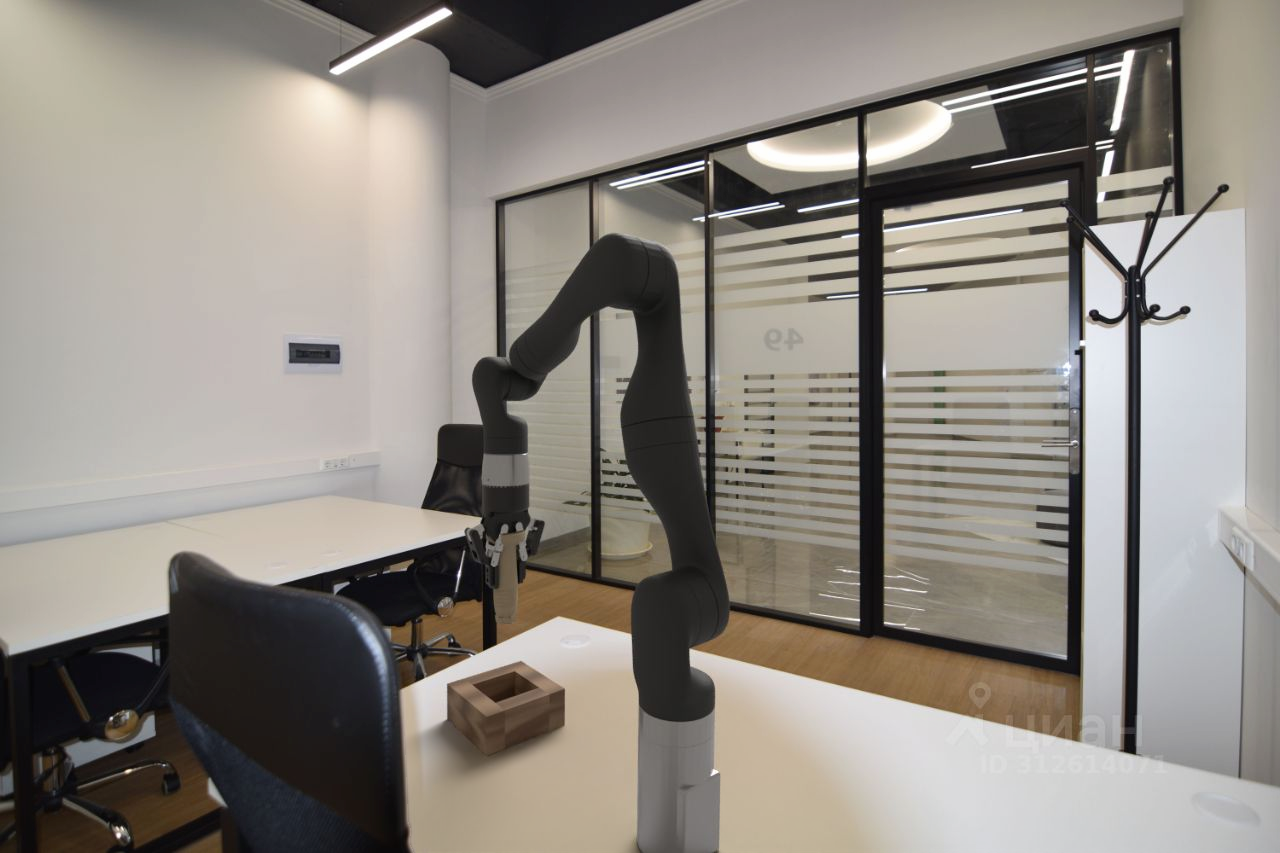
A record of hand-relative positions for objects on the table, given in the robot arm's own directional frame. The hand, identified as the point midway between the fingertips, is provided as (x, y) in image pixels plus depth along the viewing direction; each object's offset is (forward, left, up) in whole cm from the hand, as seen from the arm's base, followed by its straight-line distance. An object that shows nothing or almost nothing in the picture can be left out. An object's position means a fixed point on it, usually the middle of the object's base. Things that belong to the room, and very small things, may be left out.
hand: (506, 584), depth 102 cm
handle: (0, 0, -6) cm, 6 cm away
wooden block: (0, 0, -23) cm, 23 cm away
